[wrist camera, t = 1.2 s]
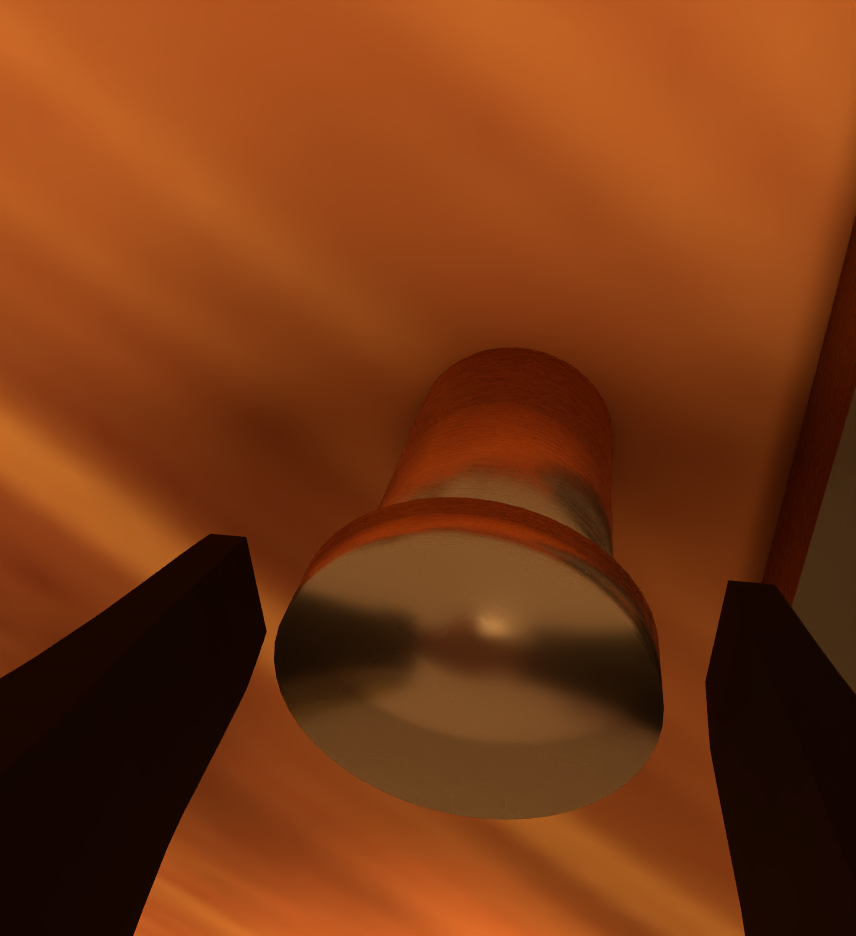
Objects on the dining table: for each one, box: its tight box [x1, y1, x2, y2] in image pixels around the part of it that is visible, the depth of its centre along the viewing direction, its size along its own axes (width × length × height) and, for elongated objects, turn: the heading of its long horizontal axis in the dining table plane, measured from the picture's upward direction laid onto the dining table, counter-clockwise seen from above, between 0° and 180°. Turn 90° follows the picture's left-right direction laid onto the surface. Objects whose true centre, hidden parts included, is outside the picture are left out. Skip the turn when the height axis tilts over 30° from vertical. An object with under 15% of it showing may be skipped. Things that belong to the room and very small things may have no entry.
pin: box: [274, 348, 664, 819], centre depth 13 cm, size 5×5×7 cm
